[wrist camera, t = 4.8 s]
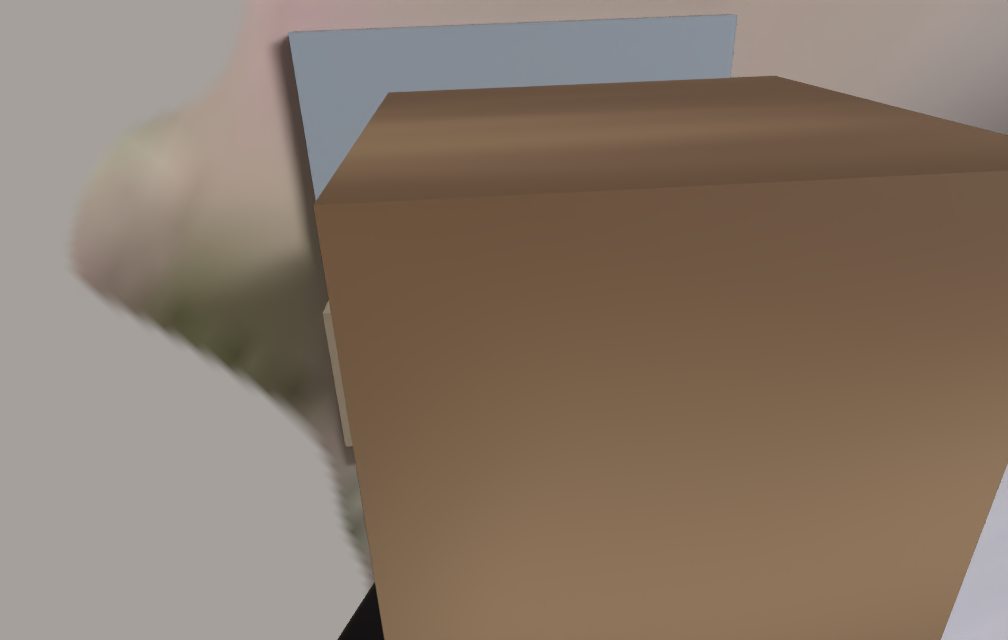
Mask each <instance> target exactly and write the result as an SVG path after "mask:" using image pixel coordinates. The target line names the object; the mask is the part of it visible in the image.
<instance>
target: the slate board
mask: <svg viewBox="0 0 1008 640" xmlns="http://www.w3.org/2000/svg"><path fill="white" fill-rule="evenodd" d="M736 23H737V15H732V14H719V15H694V16H669V17H644V18H618V19H593V20H568V21H543V22H518V23H493V24H468V25H442V26H417V27H392V28H367V29H342V30H317V31H294V32H290V33H288V35H289V41H290V47H291V53H292V59H293V66H294V72H295V78H296V84H297V90H298V96H299V102H300V108H301V114H302V120H303V127H304V133H305V139H306V145H307V151H308V157H309V163H310V169H311V175H312V181H313V188H314V194H315V200H317V199H318V197H319V196H320V194H321V193H322V191H323V190H324V188H325V187H326V185H327V184H328V182H329V181H330V179H331V178H332V176H333V175H334V173H335V172H336V170H337V169H338V167H339V166H340V164H341V163H342V161H343V160H344V158H345V157H346V155H347V154H348V152H349V151H350V149H351V148H352V146H353V145H354V143H355V142H356V140H357V139H358V137H359V136H360V134H361V133H362V131H363V130H364V128H365V127H366V125H367V124H368V122H369V121H370V119H371V118H372V116H373V115H374V113H375V112H376V110H377V109H378V107H379V106H380V104H381V103H382V101H383V100H384V98H385V97H386V95H387V94H388V92H410V91H433V90H456V89H480V88H503V87H527V86H550V85H573V84H597V83H620V82H644V81H667V80H690V79H714V78H731V69H732V59H733V50H734V41H735V32H736ZM323 319H324V324H325V330H326V336H327V342H328V348H329V353H330V359H331V365H332V371H333V376H334V382H335V388H336V394H337V400H338V405H339V411H340V417H341V423H342V429H343V434H344V440H345V446H346V447H349V446H353V445H352V439H351V433H350V427H349V421H348V415H347V409H346V402H345V396H344V390H343V384H342V378H341V372H340V366H339V360H338V354H337V348H336V342H335V335H334V329H333V323H332V317H331V311H330V305H329V300H328V302H327V305H326V307H325V309H324V311H323Z"/></svg>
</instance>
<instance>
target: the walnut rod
mask: <svg viewBox="0 0 1008 640" xmlns="http://www.w3.org/2000/svg"><path fill="white" fill-rule="evenodd" d="M313 208H314V214H315V220H316V226H317V232H318V238H319V244H320V250H321V256H322V262H323V268H324V275H325V281H326V287H327V293H328V299H329V305H330V311H331V317H332V323H333V329H334V335H335V342H336V348H337V354H338V360H339V366H340V372H341V378H342V384H343V390H344V396H345V402H346V409H347V415H348V421H349V427H350V433H351V439H352V445H353V451H354V457H355V463H356V469H357V475H358V482H359V488H360V494H361V500H362V506H363V512H364V518H365V524H366V530H367V536H368V542H369V549H370V555H371V561H372V567H373V573H374V579H375V585H376V591H377V597H378V603H379V609H380V616H381V622H382V628H383V634H384V640H941V637H942V635H943V632H944V630H945V627H946V624H947V622H948V619H949V616H950V614H951V611H952V608H953V606H954V603H955V601H956V598H957V595H958V593H959V590H960V587H961V585H962V582H963V579H964V577H965V574H966V572H967V569H968V566H969V564H970V561H971V558H972V556H973V553H974V550H975V548H976V545H977V543H978V540H979V537H980V535H981V532H982V529H983V527H984V524H985V521H986V519H987V516H988V514H989V511H990V508H991V506H992V503H993V500H994V498H995V495H996V492H997V490H998V487H999V485H1000V482H1001V479H1002V477H1003V474H1004V471H1005V469H1006V466H1007V463H1008V136H1007V135H1003V134H999V133H995V132H991V131H988V130H984V129H980V128H976V127H972V126H968V125H964V124H960V123H956V122H953V121H949V120H945V119H941V118H937V117H933V116H929V115H925V114H921V113H918V112H914V111H910V110H906V109H902V108H898V107H894V106H890V105H886V104H883V103H879V102H875V101H871V100H867V99H863V98H859V97H855V96H851V95H848V94H844V93H840V92H836V91H832V90H828V89H824V88H820V87H816V86H813V85H809V84H805V83H801V82H797V81H793V80H789V79H785V78H781V77H778V76H761V77H737V78H714V79H690V80H667V81H644V82H620V83H597V84H573V85H550V86H527V87H503V88H480V89H456V90H433V91H410V92H388V94H387V95H386V97H385V98H384V100H383V101H382V103H381V104H380V106H379V107H378V109H377V110H376V112H375V113H374V115H373V116H372V118H371V119H370V121H369V122H368V124H367V125H366V127H365V128H364V130H363V131H362V133H361V134H360V136H359V137H358V139H357V140H356V142H355V143H354V145H353V146H352V148H351V149H350V151H349V152H348V154H347V155H346V157H345V158H344V160H343V161H342V163H341V164H340V166H339V167H338V169H337V170H336V172H335V173H334V175H333V176H332V178H331V179H330V181H329V182H328V184H327V185H326V187H325V188H324V190H323V191H322V193H321V194H320V196H319V197H318V199H317V200H316V202H315V203H314V205H313Z"/></svg>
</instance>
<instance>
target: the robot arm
mask: <svg viewBox="0 0 1008 640" xmlns="http://www.w3.org/2000/svg"><path fill="white" fill-rule="evenodd" d="M338 640H384V634H383V628H382V622H381V616H380V609H379V603H378V597H377V591H376V585H375V582H374V584H373V585H372V587H371V588H370V590H369V592H368V593H367V595H366V596H365V598H364V599H363V601H362V602H361V604H360V606H359V607H358V609H357V610H356V612H355V613H354V615H353V616H352V618H351V619H350V621H349V623H348V624H347V626H346V627H345V629H344V630H343V632H342V633H341V635H340V637H339V638H338Z"/></svg>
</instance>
